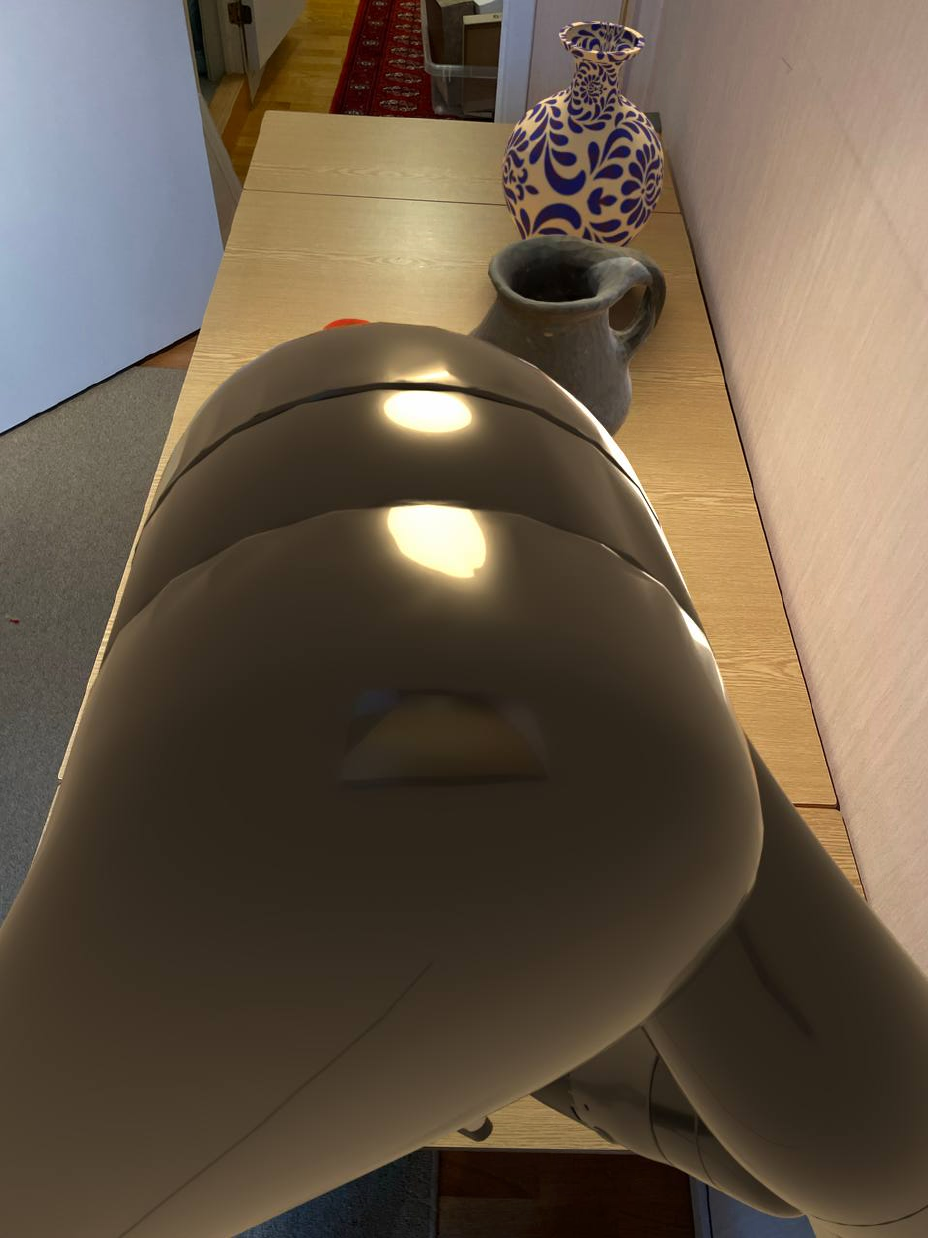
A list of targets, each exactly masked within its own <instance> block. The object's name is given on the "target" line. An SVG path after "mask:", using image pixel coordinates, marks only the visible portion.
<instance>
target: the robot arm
mask: <svg viewBox="0 0 928 1238" xmlns="http://www.w3.org/2000/svg"><path fill="white" fill-rule="evenodd" d="M467 335H468V334H463V333H460V332H457V331H453V330H449V329H446V328H443V327H439V326H436V325H426V324H424V325H423V324H414V323H402V322H390V321H375V322H374V321H373V322H371V323H365V324H357V325H348V326H340V327H332V328H326V329H321V330H318V331H315V332H312V333H309V334H305V335H303V336H300V337H297V338H294V339H292V340H289V341H286V342H283V343H280V344H277V345H276V346H274V347H273V348H271V349H270V350H267V351H266V352H264V353H262V354H261V355H259V356H258V357H256V358H255V359H253V360H251V361H250V362H248V363H246V364H244V365H243V366H241V367H240V368H238V369H236V371H234V372H233V373H232V374H231V375H229V377H227V378H226V379H225V380H224V381H222V383H221V384H220V385H218V387H217V388H216V389H215V390H214V391H213V392H212V393H211V394H210V395H209V397H208V398H207V399H206V400H205V401H204V402H203V403H202V404H201V406H199V408H198V409H197V410H196V412H195V414H194V416H193V418H191V421H190V422H189V424H188V425H187V427H186V429H185V430H184V432H183V433H182V434H181V436H180V438H179V440H178V442H177V443H176V445H175V446H174V448H173V450H172V452H171V454H170V456H169V458H168V460H167V461H166V465H165V467H164V469H163V471H162V474H161V476H160V479H159V481H158V484H157V487H156V489H155V492H154V495H153V498H152V501H151V504H150V507H149V511H148V513H147V515H146V517H145V521H144V523H143V526H142V529H141V531H140V534H139V536H138V539H137V542H136V545H135V547H134V553H133V556H132V559H131V561H130V562H131V563H130V570H129V573H128V575H127V576H128V577H127V579H126V583H125V586H124V589H123V591H122V595H121V598H120V602H119V605H118V608H117V611H116V614H115V617H114V621H113V623H112V627H111V630H110V633H109V636H108V639H107V643H106V645H105V649H104V651H103V655H102V659H101V661H100V665H99V668H98V671H97V675H96V677H95V680H94V681H93V683H92V685H91V687H90V688H89V691H88V695H87V698H86V701H85V705H84V708H83V710H82V713H81V717H80V720H79V723H78V726H77V729H76V732H75V736H74V738H73V742H72V744H71V748H70V751H69V755H68V758H67V760H66V761H67V762H66V764H65V767H64V771H63V775H62V778H61V781H60V784H59V788H58V791H57V794H56V797H55V801H54V803H53V807H52V810H51V813H50V816H49V819H48V821H47V824H46V827H45V830H44V833H43V835H42V839H41V841H40V843H39V846H38V848H37V851H36V854H35V856H34V858H33V861H32V863H31V866H30V868H29V870H28V873H27V874H26V877H25V880H24V882H23V884H22V886H21V887H20V890H19V891H18V894H17V896H15V899H14V901H13V903H12V905H11V907H10V909H9V911H8V913H7V914H6V917H5V918H4V921H3V922H2V924H1V927H0V1238H234V1237H236V1236H238V1235H240V1234H242V1233H244V1232H246V1231H249V1230H250V1229H252V1228H254V1227H257V1226H259V1225H261V1224H263V1223H265V1222H267V1221H269V1220H272V1219H273V1218H275V1217H278V1216H280V1215H282V1214H284V1213H286V1212H288V1211H291V1210H293V1209H295V1208H296V1207H299V1206H301V1205H303V1204H306V1203H307V1202H310V1201H311V1200H314V1199H316V1198H317V1197H320V1196H322V1195H324V1194H327V1193H329V1192H330V1191H332V1190H335V1189H337V1188H339V1187H341V1186H343V1185H346V1184H347V1183H350V1182H352V1181H354V1180H356V1179H358V1178H360V1177H363V1176H364V1175H367V1174H369V1173H371V1172H373V1171H376V1170H377V1169H379V1168H382V1167H383V1166H386V1165H388V1164H390V1163H392V1162H394V1161H396V1160H399V1159H401V1158H403V1157H404V1156H407V1155H409V1154H412V1153H413V1152H415V1151H418V1150H419V1149H421V1148H422V1149H423V1148H424V1147H426V1146H428V1145H430V1144H432V1143H434V1142H437V1141H439V1140H441V1139H443V1138H445V1137H447V1136H449V1135H451V1134H454V1133H459V1134H460V1135H462V1136H464V1137H466V1138H468V1139H470V1140H472V1141H474V1142H476V1143H480V1142H481V1143H482V1142H484V1141H485V1140H487V1139H488V1138H489V1137H490V1136H491V1135H492V1133H493V1129H494V1124H493V1122H492V1121H491V1120H490V1118H489V1115H492V1114H493V1113H496V1112H498V1111H500V1110H502V1109H504V1108H505V1107H507V1106H510V1105H512V1104H514V1103H516V1102H518V1101H520V1100H522V1099H524V1098H526V1097H528V1096H531V1097H532V1098H533V1099H534V1100H537V1101H538V1102H539V1103H541V1104H543V1105H545V1106H546V1107H548V1108H550V1109H552V1110H554V1111H555V1112H557V1113H559V1114H561V1115H563V1116H564V1117H567V1118H569V1119H570V1120H572V1121H574V1122H576V1123H578V1124H580V1125H582V1126H584V1127H586V1128H587V1129H589V1130H591V1131H593V1132H595V1133H596V1134H597V1135H598V1136H599V1137H601V1139H603V1140H605V1141H607V1142H608V1143H610V1144H612V1145H614V1146H615V1145H617V1146H621V1147H623V1148H624V1149H627V1150H628V1151H630V1152H632V1153H635V1154H637V1155H639V1156H642V1157H644V1158H646V1159H649V1160H651V1161H654V1162H658V1163H660V1164H661V1163H662V1164H665V1165H668V1166H671V1167H673V1168H675V1169H678V1170H680V1171H681V1172H683V1173H685V1174H687V1175H689V1176H691V1177H692V1178H695V1179H696V1180H698V1181H700V1182H701V1183H705V1184H706V1185H707V1186H710V1187H712V1188H714V1189H716V1190H717V1191H720V1192H721V1193H723V1194H725V1195H727V1196H729V1197H731V1198H732V1199H734V1200H736V1201H739V1202H740V1203H742V1204H744V1205H746V1206H748V1207H750V1208H752V1209H754V1210H756V1211H758V1212H761V1213H764V1214H766V1215H770V1216H773V1217H776V1218H781V1219H794V1218H800V1217H803V1216H806V1217H807V1219H808V1220H809V1223H810V1226H811V1228H812V1230H813V1233H814V1236H815V1238H928V976H927V975H926V973H925V972H924V971H923V969H921V967H920V966H919V965H918V963H916V961H915V960H914V959H913V957H912V956H911V955H910V954H909V953H908V951H907V950H906V949H905V948H904V946H903V945H902V944H901V943H900V942H899V940H898V939H897V938H896V936H895V935H894V934H893V933H892V931H891V930H890V929H889V928H888V926H887V925H886V924H885V923H884V922H883V920H882V919H881V918H880V917H879V915H878V913H876V912H875V910H874V909H873V908H872V906H871V905H870V904H869V903H868V901H867V900H866V898H864V896H863V895H862V893H861V892H860V891H859V890H858V888H857V887H856V886H855V884H854V883H853V882H852V881H851V880H850V878H849V877H848V875H846V873H845V872H844V871H843V869H842V868H841V867H840V866H839V864H838V863H837V862H836V860H835V859H834V857H833V856H832V855H831V854H830V852H829V851H828V849H827V848H826V847H825V846H824V844H823V843H822V842H821V840H820V839H819V838H818V837H817V835H816V834H815V832H814V831H813V830H812V828H811V827H810V825H809V824H808V822H807V821H806V820H805V819H804V818H803V816H802V815H801V812H799V810H798V808H796V806H795V805H794V804H793V802H792V801H791V800H790V798H789V797H788V795H787V793H786V792H785V790H784V789H783V788H782V786H781V784H780V783H779V781H778V780H777V778H776V777H775V775H774V773H772V771H771V769H770V767H769V766H768V765H767V763H766V762H765V760H764V758H763V757H762V756H761V754H760V753H759V751H758V749H757V748H756V746H755V744H754V743H753V741H752V740H751V738H750V736H749V735H748V733H747V731H746V730H745V728H744V727H743V724H742V723H741V722H740V720H739V718H738V715H737V712H736V710H735V707H734V704H733V703H732V700H731V697H730V694H729V692H728V690H727V687H726V684H725V682H724V678H723V675H722V673H721V670H720V668H719V666H718V663H717V658H716V655H715V652H714V650H713V648H712V645H711V643H710V641H709V638H708V636H707V633H706V631H705V629H704V626H703V624H702V621H701V619H700V617H699V614H698V612H697V611H698V610H697V609H696V606H695V604H694V602H693V599H692V597H691V594H690V592H689V590H688V587H687V585H686V582H685V581H684V578H683V576H682V573H681V571H680V568H679V565H678V563H677V561H676V559H675V556H674V554H673V551H672V549H671V547H670V544H669V542H668V539H667V537H666V535H665V533H664V530H663V528H662V524H661V523H660V520H659V518H658V515H657V513H656V511H655V509H654V507H653V505H652V504H651V502H650V500H649V497H648V496H647V494H646V491H645V490H644V488H643V486H642V484H641V482H640V480H639V478H638V476H637V474H636V473H635V471H634V469H633V467H632V465H631V463H630V461H629V460H628V458H627V457H626V455H625V454H624V452H623V451H622V450H621V449H620V447H619V446H618V445H617V443H616V442H615V440H614V438H613V437H612V438H611V437H610V435H609V434H608V433H607V431H606V430H605V429H604V428H603V426H602V425H601V424H600V423H599V422H598V421H597V420H596V418H595V417H594V416H593V415H592V414H591V413H590V412H589V411H588V410H587V409H586V407H585V406H584V405H583V404H582V403H581V402H580V401H579V400H577V399H576V398H575V397H574V396H572V395H571V394H570V393H569V392H567V391H566V390H565V389H564V388H562V387H561V386H560V385H559V384H557V383H556V382H555V381H554V380H552V379H551V378H550V377H549V376H547V375H546V374H545V373H544V372H542V371H541V370H540V369H539V368H537V367H536V366H534V365H532V364H530V363H528V362H526V361H524V360H523V359H521V358H519V357H517V356H515V355H513V354H511V353H509V352H507V351H505V350H503V349H501V348H499V347H497V346H495V345H493V344H492V343H490V342H488V341H485V340H481V339H478V338H474V337H471V336H467Z"/></svg>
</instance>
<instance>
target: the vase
mask: <svg viewBox="0 0 928 1238" xmlns="http://www.w3.org/2000/svg"><path fill="white" fill-rule="evenodd" d="M558 35H559V38H560V39H559V40H560V42H561V45H562V47H563V48H564V49H565V50H566V51H567V52H568V53H570V54H572V56H573V58H574V59H573V60H574V73H573V77H572V80H571V83H570V84H569V86H568V88H564V89H562V90H560V91H558V92H556V93H554V94H552V95H550V96H548V97H546V98H545V99H542V100H541V101H539V102H538V103H537V104H535V105H534V106H533V107H531V108H530V109H529V110H528V111H527V112H526V113H525V114H524V115H523V116H521V119H519V121H518V122H517V123H516V124H515V126H514V127H513V130H512V131H511V134H510V136H509V137H508V141H507V143H506V147H505V150H504V155H503V160H502V164H501V188H502V193H503V196H504V200H505V201H504V202H505V204H506V208H507V210H508V213H509V216H510V219H511V221H512V223H513V224H514V227H515V229H516V231H517V232H518V235H519V236H520V238H521V240H526V239H528V238H530V237H534V236H542V235H553V234H560V235H574V236H578V237H581V238H583V239H586V240H590V241H593V242H597V243H602V244H607V245H614V246H620V247H627V248H628V245H630V244H631V243H632V242H633V241H634V239H635V238H637V236H638V235H639V234H640V232H641V231H642V229H643V228H644V227H645V226H646V224H647V223H648V222H649V219H650V217H651V216H652V214H653V212H654V210H655V208H656V207H657V205H658V202H659V199H660V195H661V192H662V188H663V186H664V173H665V163H664V162H665V161H664V152H663V147H662V143H661V140H660V137H659V134H658V133H657V131H656V129H655V127H654V125H653V123H652V122H651V121H650V120H649V119H648V117H647V116H646V115H645V114H644V113H643V112H642V111H641V109H639V108H638V107H637V105H635V104H634V103H633V102H631V101H630V99H628V98H626V97H625V96H623V95H622V94H621V92H620V87H619V85H620V84H619V79H620V73H621V70H622V67H623V66H624V64H625V62H626V61H627V60H631V59H633V58H636V57H637V56H638V55H639V53H641V50H642V49H643V48H644V46H645V44H646V40H645V37H644V36H643V35H642V34H641V33H639V32H638V31H637V30H634V29H633V28H630V27H627V26H624V25H621V24H619V23H618V24H617V23H613V22H606V21H595V20H594V21H592V20H591V21H589V20H588V21H578V22H573V23H570V24H567V25H565V26H563V27H562V28H561V29H560V30H559V33H558Z"/></svg>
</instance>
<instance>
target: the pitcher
mask: <svg viewBox="0 0 928 1238" xmlns="http://www.w3.org/2000/svg"><path fill="white" fill-rule="evenodd" d="M487 275H488V277H489V279H490V281H491V284H492V285H493V287H494V289H495V292H496V297H495V299H494V300H493V302H492V304H491V305H490V306H489V309H488V311H487V312H486V314H485V316H484V317H483V318H482V320H481V321H480V323H479V324H478V325H477V326H476V327H474V328H473V329H472V330H471V331H470V332H468V333H467V334H466V335H467V336H471V337H474V338H478V339H481V340H485V341H488V342H490V343H492V344H493V345H495V346H497V347H499V348H501V349H503V350H505V351H507V352H509V353H511V354H513V355H515V356H517V357H519V358H521V359H523V360H524V361H526V362H528V363H530V364H532V365H534V366H536V367H537V368H539V369H540V370H541V371H542V372H544V373H545V374H546V375H547V376H549V377H550V378H551V379H552V380H554V381H555V382H556V383H557V384H559V385H560V386H561V387H562V388H564V389H565V390H566V391H567V392H569V393H570V394H571V395H572V396H574V397H575V398H576V399H577V400H579V401H580V402H581V403H582V404H583V405H584V406H585V407H586V409H587V410H588V411H589V412H590V413H591V414H592V415H593V416H594V417H595V418H596V420H597V421H598V422H599V423H600V424H601V425H602V426H603V428H604V429H605V430H606V431H607V433H608V434H609V435H610V437H611V438H612V439H613V437H614V436H615V435H616V434H618V432H619V431H620V430H621V428H622V427H623V425H624V424H625V422H626V420H627V418H628V415H629V413H630V409H631V405H632V400H633V388H632V387H633V385H632V379H631V374H630V370H629V366H630V362H631V361H632V359H633V358H634V356H635V355H636V354H637V353H638V351H639V350H640V348H642V346H644V344H645V343H646V342H647V341H648V339H650V336H651V335H652V333H653V332H654V330H655V328H656V326H657V324H658V322H659V320H660V317H661V315H662V312H663V309H664V307H665V303H666V302H665V301H666V297H667V295H666V294H667V284H666V278H665V276H664V273H663V270H662V269H661V267H660V266H659V264H658V263H657V262H656V261H655V259H653V258H652V257H650V256H649V255H648V254H646V253H645V252H643V250H639V249H636V248H632V247H628V246H627V247H620V246H614V245H607V244H602V243H597V242H593V241H590V240H586V239H583V238H581V237H578V236H574V235H560V234H553V235H542V236H534V237H530V238H528V239H526V240H522V239H520V240H514V241H511V242H510V243H508V244H507V245H505V246H504V247H502V248H501V249H500V250H498V251H497V252H496V253H495V254H493V255H492V257H491V259H490V262H489V263H488V270H487ZM638 286H644V287H645V289H644V293H643V297H642V299H641V301H640V303H639V306H638V308H637V310H636V313H635V315H634V317H633V319H632V321H631V322H630V323H629V324H628V325H627V326H626V327H625V328H624V329H622V330H616V329H615V328H614V329H613V328H612V327H611V326H610V322H609V312H610V311H609V310H610V308H611V307H613V306H614V305H615V304H616V303H618V301H620V300H621V299H622V298H623V297H624V296H625V294H626V293H627V292H628V291H629V290H630V289H631V288H634V287H638Z"/></svg>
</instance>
